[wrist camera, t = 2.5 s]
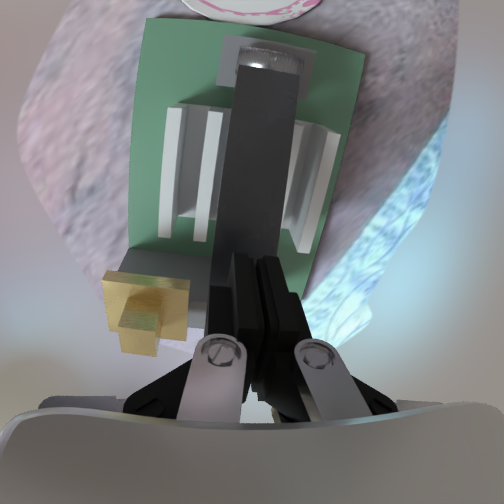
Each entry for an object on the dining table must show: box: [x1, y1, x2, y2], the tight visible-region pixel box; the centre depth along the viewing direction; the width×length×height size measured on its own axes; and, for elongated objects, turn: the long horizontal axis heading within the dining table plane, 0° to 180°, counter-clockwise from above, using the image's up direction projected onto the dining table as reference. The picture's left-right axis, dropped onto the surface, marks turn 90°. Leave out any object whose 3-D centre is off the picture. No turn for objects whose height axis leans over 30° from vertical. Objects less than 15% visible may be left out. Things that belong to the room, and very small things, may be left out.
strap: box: [204, 45, 304, 337], centre depth 15 cm, size 15×3×2 cm, turn 170°
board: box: [118, 18, 365, 329], centre depth 20 cm, size 22×15×7 cm
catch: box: [102, 270, 190, 357], centre depth 17 cm, size 4×5×3 cm
